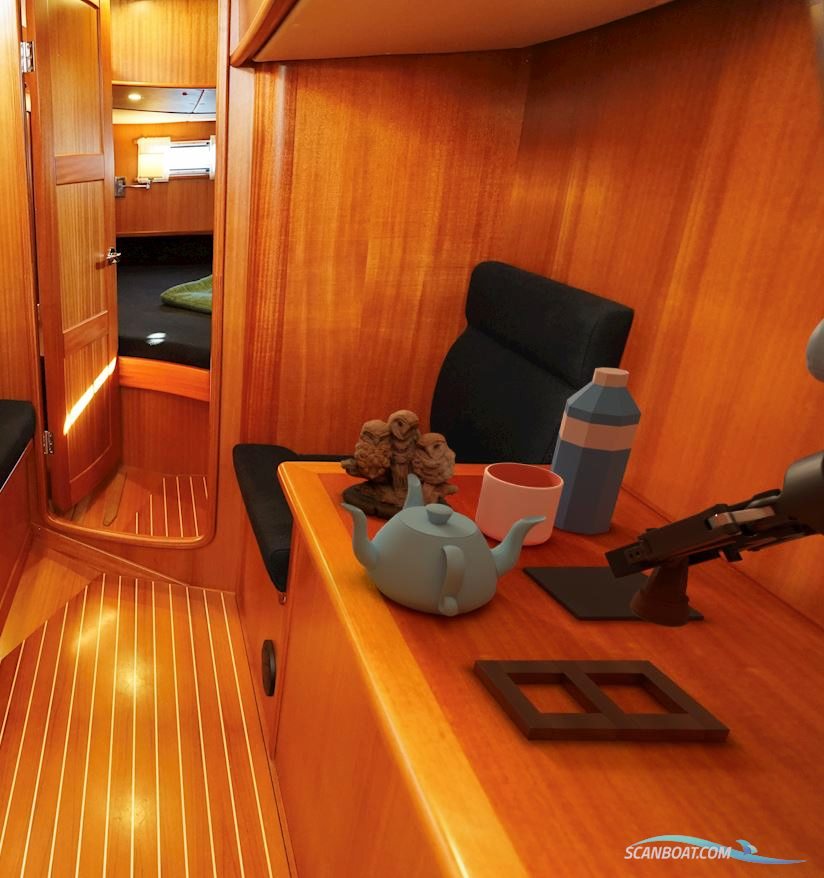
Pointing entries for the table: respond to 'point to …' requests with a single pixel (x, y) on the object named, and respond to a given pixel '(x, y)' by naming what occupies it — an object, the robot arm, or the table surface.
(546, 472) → the cup
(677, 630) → the table surface
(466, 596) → the teapot
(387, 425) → the owl figurine
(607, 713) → the rack
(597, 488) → the water bottle
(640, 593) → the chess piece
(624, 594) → the felt mat
